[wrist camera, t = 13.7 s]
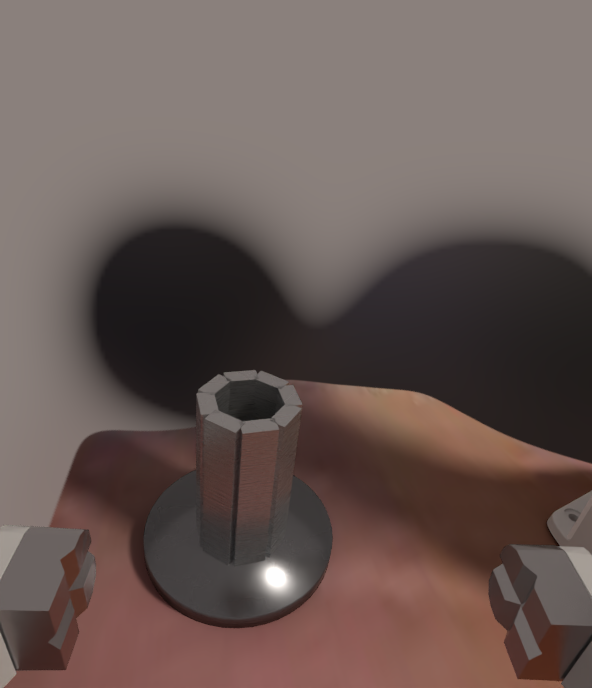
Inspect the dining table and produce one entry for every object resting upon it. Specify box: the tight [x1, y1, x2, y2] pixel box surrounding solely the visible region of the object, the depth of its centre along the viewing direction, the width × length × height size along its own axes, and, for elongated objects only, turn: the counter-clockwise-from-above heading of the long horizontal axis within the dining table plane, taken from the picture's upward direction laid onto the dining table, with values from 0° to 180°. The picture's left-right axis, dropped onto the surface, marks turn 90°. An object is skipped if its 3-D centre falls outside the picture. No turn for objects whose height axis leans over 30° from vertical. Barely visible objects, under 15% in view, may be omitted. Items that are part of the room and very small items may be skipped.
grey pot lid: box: [144, 470, 332, 628], centre depth 37 cm, size 14×14×5 cm
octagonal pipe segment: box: [196, 370, 302, 567], centre depth 35 cm, size 6×6×12 cm
